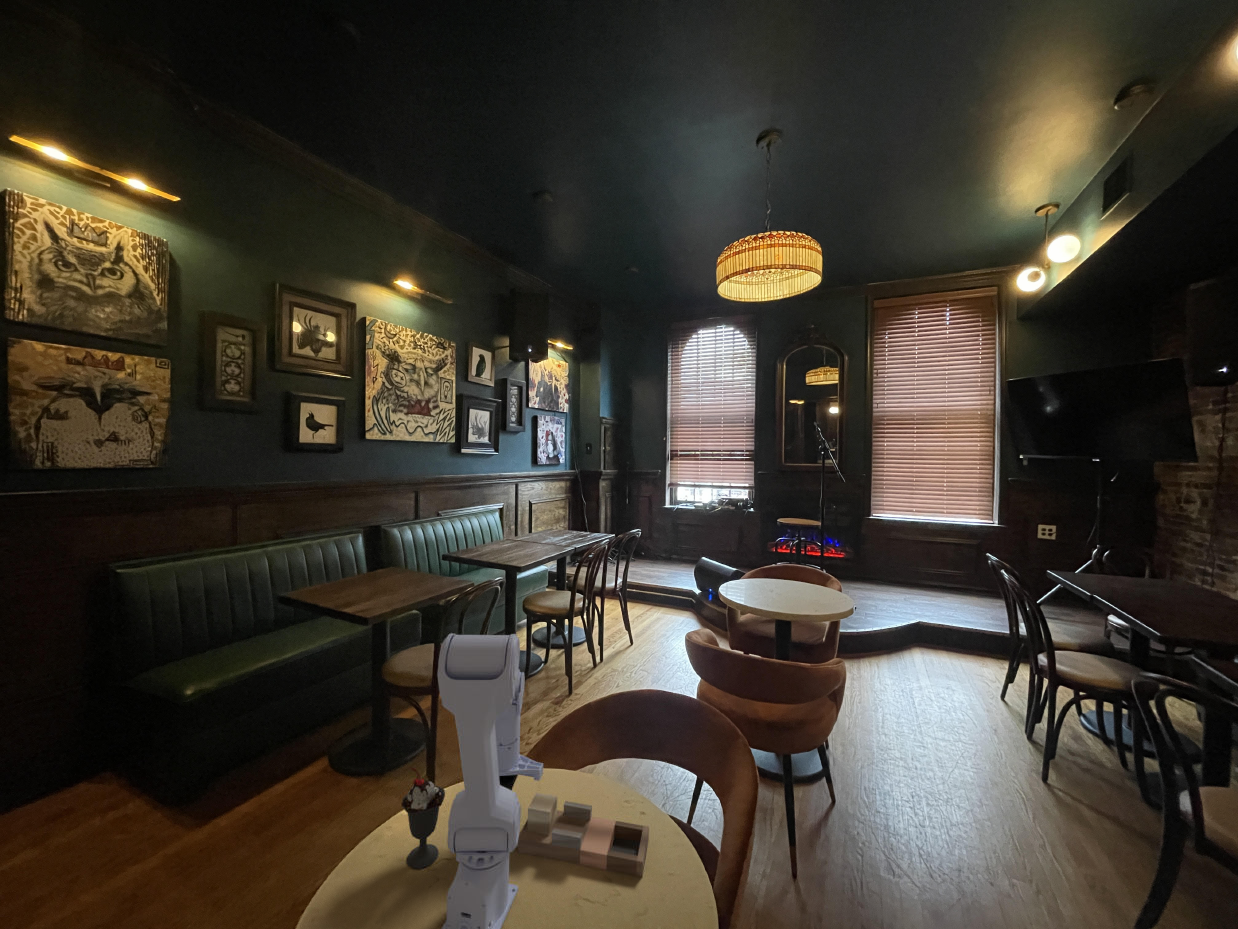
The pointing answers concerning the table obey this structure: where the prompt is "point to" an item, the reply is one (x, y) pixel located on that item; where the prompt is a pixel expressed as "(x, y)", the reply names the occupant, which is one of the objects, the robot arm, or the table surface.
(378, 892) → the table surface
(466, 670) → the robot arm
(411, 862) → the sundae
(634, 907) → the table surface
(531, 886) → the table surface
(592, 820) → the wooden stepped tray
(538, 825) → the block
